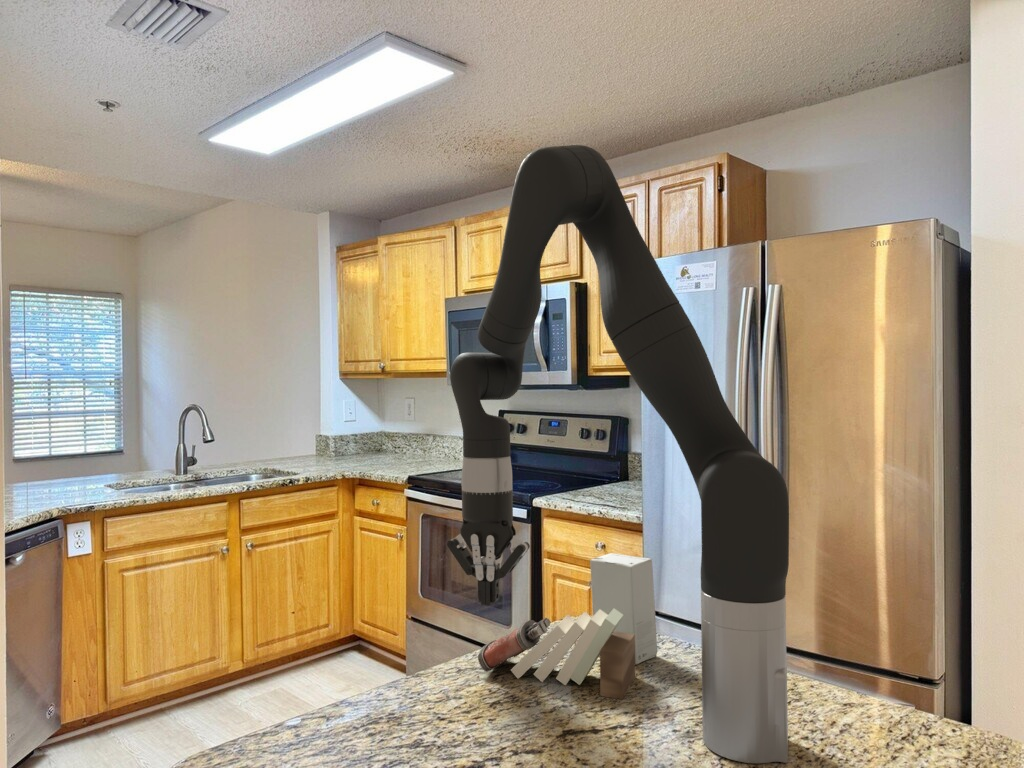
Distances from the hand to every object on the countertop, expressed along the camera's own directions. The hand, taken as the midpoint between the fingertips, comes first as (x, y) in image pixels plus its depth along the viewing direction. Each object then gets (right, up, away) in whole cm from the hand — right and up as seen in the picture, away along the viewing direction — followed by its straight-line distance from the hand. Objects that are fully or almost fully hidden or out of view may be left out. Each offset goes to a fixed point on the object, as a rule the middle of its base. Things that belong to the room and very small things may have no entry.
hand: (488, 604), depth 105 cm
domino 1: (+5, -9, -2) cm, 10 cm away
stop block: (+18, -9, -7) cm, 21 cm away
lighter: (0, -8, 0) cm, 8 cm away
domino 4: (+13, -8, -5) cm, 16 cm away
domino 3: (+11, -9, -5) cm, 15 cm away
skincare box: (+21, -9, +4) cm, 23 cm away
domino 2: (+8, -9, -4) cm, 12 cm away
